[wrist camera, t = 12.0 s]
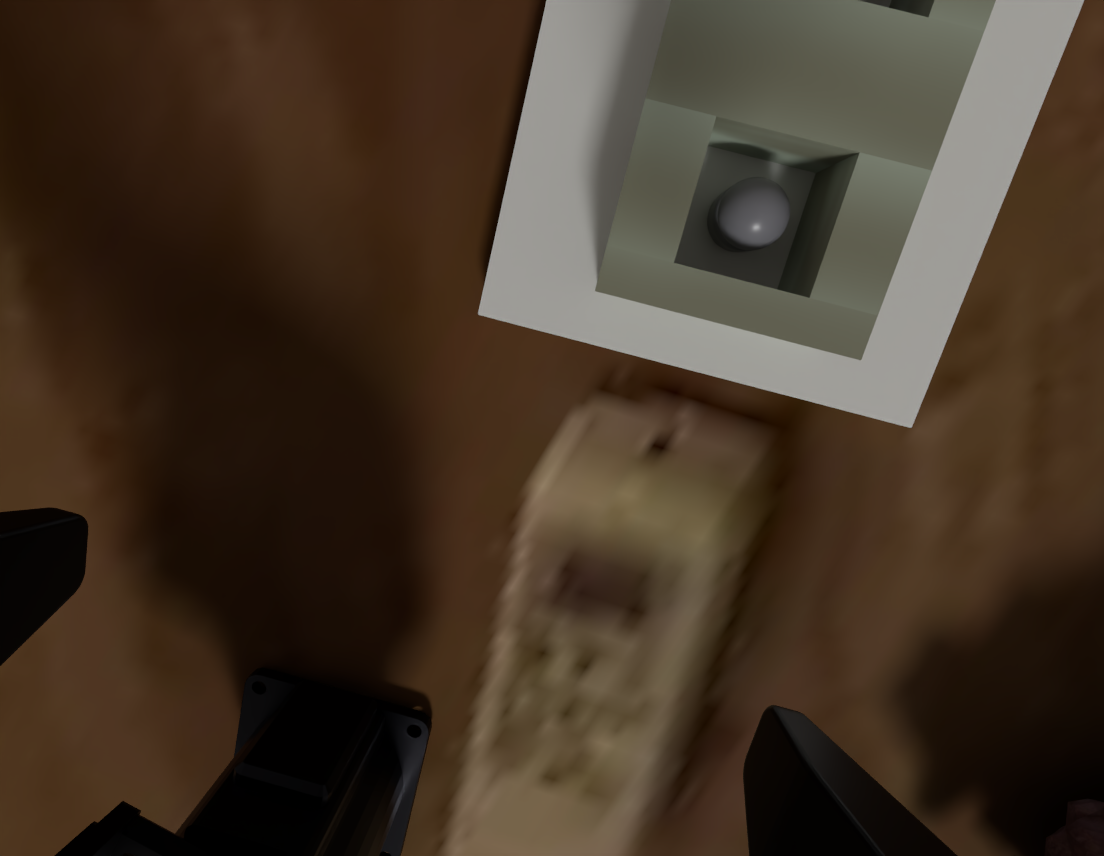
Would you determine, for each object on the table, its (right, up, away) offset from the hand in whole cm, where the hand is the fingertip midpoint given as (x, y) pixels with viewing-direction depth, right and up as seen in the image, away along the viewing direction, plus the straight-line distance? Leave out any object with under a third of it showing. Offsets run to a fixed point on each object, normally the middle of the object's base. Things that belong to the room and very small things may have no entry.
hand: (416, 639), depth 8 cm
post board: (+7, +11, +9) cm, 16 cm away
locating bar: (+7, +11, +7) cm, 15 cm away
